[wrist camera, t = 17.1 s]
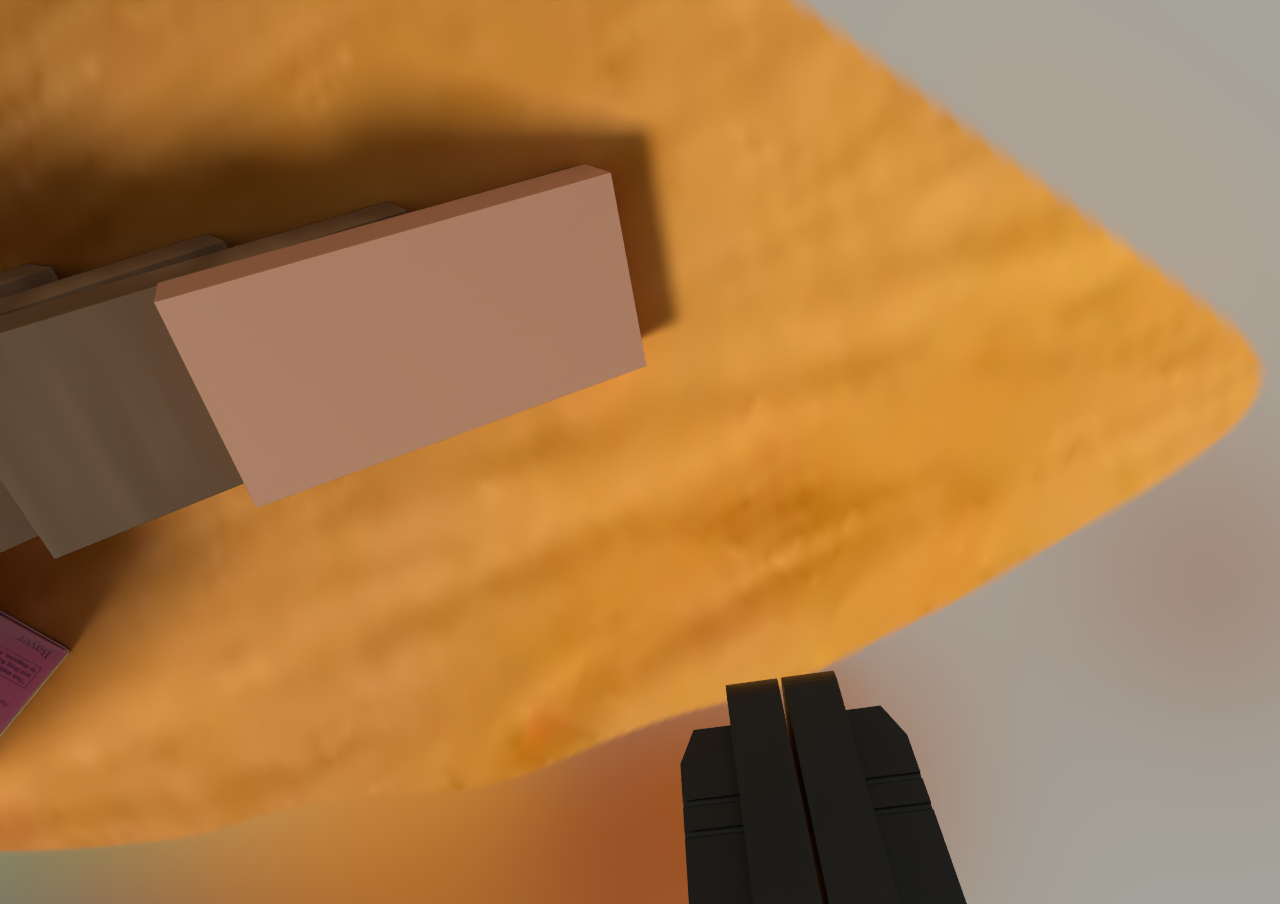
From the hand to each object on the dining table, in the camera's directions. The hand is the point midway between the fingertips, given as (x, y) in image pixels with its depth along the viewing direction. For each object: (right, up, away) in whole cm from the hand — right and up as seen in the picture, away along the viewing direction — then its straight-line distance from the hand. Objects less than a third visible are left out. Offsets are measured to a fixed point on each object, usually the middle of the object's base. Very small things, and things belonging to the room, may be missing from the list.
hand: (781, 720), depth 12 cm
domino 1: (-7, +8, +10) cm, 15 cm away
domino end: (-3, +8, +10) cm, 13 cm away
